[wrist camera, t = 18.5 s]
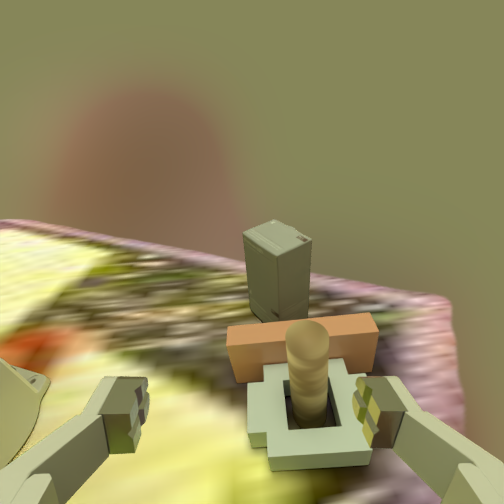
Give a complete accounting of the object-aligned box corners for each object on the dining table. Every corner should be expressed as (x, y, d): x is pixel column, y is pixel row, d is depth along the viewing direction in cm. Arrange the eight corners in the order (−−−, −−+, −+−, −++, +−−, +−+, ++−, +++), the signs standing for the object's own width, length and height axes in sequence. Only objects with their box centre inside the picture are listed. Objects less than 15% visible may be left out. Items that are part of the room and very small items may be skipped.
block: (389, 463, 28) (394, 448, 26) (252, 472, 29) (247, 458, 27) (356, 373, 36) (358, 356, 34) (251, 381, 37) (247, 366, 35)
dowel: (287, 420, 33) (278, 345, 25) (299, 391, 36) (294, 315, 28) (320, 437, 31) (321, 361, 23) (330, 404, 34) (334, 327, 26)
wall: (371, 371, 37) (379, 331, 32) (236, 383, 38) (226, 345, 33) (363, 352, 39) (369, 312, 35) (237, 363, 40) (227, 326, 36)
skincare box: (249, 310, 49) (235, 233, 40) (280, 291, 52) (273, 215, 43) (281, 340, 43) (271, 256, 34) (314, 317, 46) (313, 234, 37)
